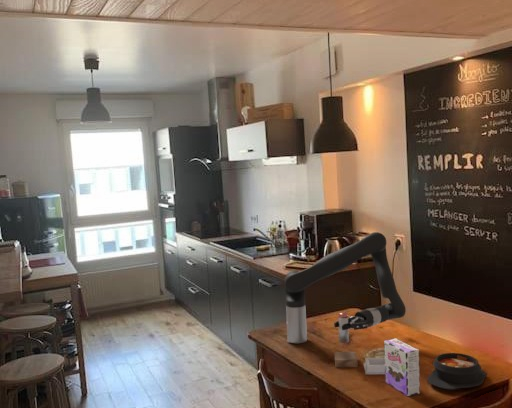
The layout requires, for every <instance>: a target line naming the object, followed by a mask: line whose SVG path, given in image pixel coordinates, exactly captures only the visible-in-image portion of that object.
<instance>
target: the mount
mask: <svg viewBox="0 0 512 408" xmlns="http://www.w3.org/2000/svg"><path fill="white" fill-rule="evenodd" d="M333 353H334V354H333V355H334V365H335V368H358V366H359V365H358V356H357V352H356V351H334V352H333Z"/></svg>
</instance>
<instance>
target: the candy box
mask: <svg viewBox="0 0 512 408" xmlns="http://www.w3.org/2000/svg"><path fill="white" fill-rule="evenodd" d="M383 351H384V353H383V354H384V358H385V374H384V376H385V377H384V378H385V379H384V380H385V381H384V382H385V383H386V384H388V385H389V386H391V387H393V388H394V389H395V390H397V391H399V392H400V393H401V394H403V395H404V396H406V397H410V396H415V395H420V392H421V391H420V390H421V389H420V388H421V387H420V385H421V384H420V350H419V348H415V347H414V346H411V345H409V344H407V342H403V341H402V340H399V339H398V338H391V339H387V340H383Z"/></svg>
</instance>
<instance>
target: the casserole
mask: <svg viewBox="0 0 512 408" xmlns="http://www.w3.org/2000/svg"><path fill="white" fill-rule="evenodd" d="M432 366H433V367H434V369H433V370H432V371H431V373H430V375H429V376H427V378H426V382H427V383H429V384H430V385H432V386H434V387H437V388H439V389H444V390H449V391H451V390H458V389H469V388H474V387H477V386H480V385H482V384H483V383H484V381H485V378H486V376H488V373H487V372H486V371H485V370H483V369H482V366H481V365H480V363H479V361H478V359H477V358H476V357H474V356H472V355H469V354H464V353H460V352H457V353H456V352H447V353H441V354H438V355H437V356H436V357H435V359H434V361H433V362H432Z"/></svg>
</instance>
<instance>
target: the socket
mask: <svg viewBox="0 0 512 408" xmlns="http://www.w3.org/2000/svg"><path fill="white" fill-rule="evenodd" d="M364 361H365V362H363V363H362V365H363V369H364V373H365V375H385V357H365V359H364Z"/></svg>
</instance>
